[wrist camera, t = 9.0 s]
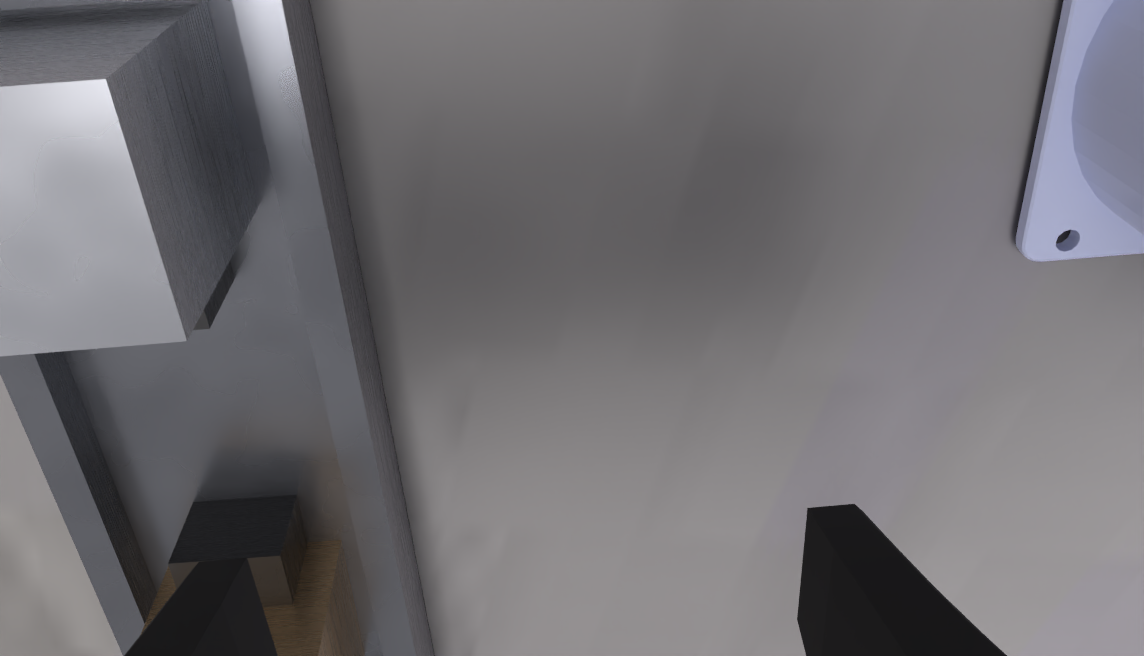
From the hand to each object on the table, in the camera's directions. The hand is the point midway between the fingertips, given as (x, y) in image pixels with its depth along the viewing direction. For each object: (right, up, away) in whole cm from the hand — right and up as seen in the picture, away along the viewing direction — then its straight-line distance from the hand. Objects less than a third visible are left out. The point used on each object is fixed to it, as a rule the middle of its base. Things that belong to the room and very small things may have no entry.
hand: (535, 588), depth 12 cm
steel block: (-8, +7, +5) cm, 12 cm away
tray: (-7, +2, +10) cm, 12 cm away
